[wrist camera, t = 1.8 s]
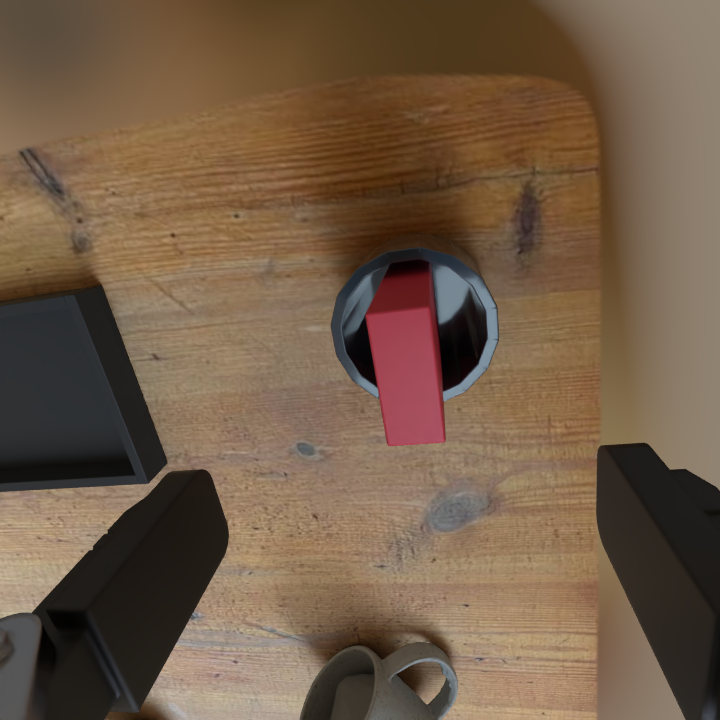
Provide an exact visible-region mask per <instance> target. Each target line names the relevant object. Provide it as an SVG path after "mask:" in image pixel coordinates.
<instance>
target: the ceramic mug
mask: <svg viewBox="0 0 720 720" xmlns="http://www.w3.org/2000/svg"><path fill="white" fill-rule="evenodd" d="M424 661H427V662H431V661H433V662H439V664H440V666H441V668H442V674H444V675H445V676H446V680H445V683H444V685H443V687H442V688H441V691H440V692H439V693H438V695H437V696H436V697H435V698H434V699H433V700H432V701H431V702H430V703H429V704H425V703H424V702H423V701H422V699H421V698H420V697H419V696H418V695H417V694H416V693H415V692H414V691H413V690H412V689H411V688H409V687H408V686H407V685H406V684H405V683H404V682H403V681H402V680H401V679H400V678H399V677H398V676H397V675H396V674H397V673H398V672H400V671H402V670H404V669H406V668H407V667H409V666H411V665H414V664H416V663H420V662H424ZM457 691H458V681H457V676H456V673H455V671H454V669H453V667H452V665H451V662H450V660H449V658H448V657H447V655H446V654H445V653H444V652H443V651H442V650H441V649H440V648H438V647H437V646H436V645H433V644H431V643H426V642H416V643H411V644H408V645H405V646H403V647H401V648H400V649H398V650H396V651H395V652H393V653H391V654H390V655H389V656H387V657H386V658H385V659H383V660H381V659H380V658H379V656H378V655H377V654H375V653H374V652H373V651H372V650H371V649H369V648H367V647H365V646H361V645H359V646H351V647H348V648H345V649H344V650H342V651H340V652H339V653H337V654H336V655H335V656H333V657H332V658H331V659H330V660H329V661H328V662H327V663H326V665H325V666H324V667H323V668H322V670H321V671H320V672H319V674H318V675H317V677H316V678H315V680H314V682H313V683H312V686H311V688H310V690H309V692H308V694H307V697H306V699H305V702H304V705H303V708H302V712H301V715H300V720H441V719H442V718H443V717H444V716H445V715H446V714H447V712H448V711H449V710H450V709H451V707H452V705H453V703H454V701H455V700H456V697H457Z"/></svg>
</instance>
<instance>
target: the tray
mask: <svg viewBox="0 0 720 720" xmlns="http://www.w3.org/2000/svg"><path fill="white" fill-rule="evenodd" d="M166 464H167V460H166V457H165V455H164V452H163V449H162V447H161V444H160V441H159V439H158V436H157V433H156V431H155V428H154V425H153V422H152V420H151V417H150V414H149V412H148V409H147V406H146V404H145V401H144V398H143V396H142V393H141V390H140V387H139V385H138V382H137V379H136V377H135V374H134V371H133V369H132V366H131V363H130V361H129V358H128V355H127V353H126V350H125V347H124V344H123V342H122V339H121V336H120V334H119V331H118V328H117V326H116V323H115V320H114V318H113V315H112V312H111V309H110V307H109V304H108V301H107V299H106V296H105V293H104V291H103V288H102V286H94V287H87V288H81V289H75V290H68V291H62V292H56V293H49V294H43V295H37V296H30V297H24V298H17V299H11V300H5V301H0V492H7V491H25V490H43V489H60V488H78V487H96V486H114V485H132V484H148V483H149V482H150V481H151V480H152V479H153V478H154V477H155V476H156V475H157V474H158V473H159V472H160V471H161V470H162V468H163V467H164V466H165V465H166Z"/></svg>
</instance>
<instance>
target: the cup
mask: <svg viewBox="0 0 720 720" xmlns="http://www.w3.org/2000/svg"><path fill="white" fill-rule="evenodd" d="M412 260H423V261H427V262H430V263H432V272H433V281H434V290H435V299H436V308H437V317H438V326H439V334H440V344H441V363H442V381H443V400H444V401H446V400H448V399H450V398H453V397H455V396H457V395H459V394H461V393H464V392H465V391H467V390H468V389H469V388H470V387H471V386H472V385H473V384H474V383H475V381H476V380H477V379H478V378H479V377H480V376H481V375H482V374H483V373H484V372H485V371H486V370H487V368H488V367H489V364H490V362H491V359H492V357H493V354H494V351H495V349H496V346H497V343H498V341H499V326H498V308H497V305H496V303H495V301H494V299H493V297H492V295H491V293H490V291H489V289H488V287H487V286H486V284H485V282H484V280H483V278H482V276H481V274H480V272H479V270H478V268H477V266H476V264H475V263H474V261H473V259H472V258H471V256H469V255H468V254H467V253H466V252H465V251H464V250H463V249H462V248H460V247H459V246H458V245H456V244H455V243H453V242H452V241H449V240H448V239H445V238H443V237H440V236H437V235H432V234H425V233H413V234H406V235H401V236H398V237H395V238H392V239H390V240H388V241H386V242H385V243H383V244H381V245H380V246H379V247H377V248H376V249H374V250H372V251H371V252H370V253H369V254H368V256H367V257H366V258H365V259H364V260H363V262H362V263H361V264H360V265H359V266H358V268H357V269H356V270H355V271H354V273H353V274H352V275H351V277H350V278H349V280H348V281H347V282H346V284H345V285H344V287H343V288H342V289H341V291H340V292H339V293H338V296H337V298H336V303H335V307H334V312H333V317H332V321H331V331H332V336H333V341H334V346H335V352H336V355H337V358H338V359H339V361H340V362H341V364H342V365H343V367H344V368H345V370H346V371H347V373H348V374H349V376H350V378H351V379H352V380H353V381H354V382H355V383H356V384H358V385H359V386H361V387H362V388H363V389H365V390H366V391H368V392H369V393H370V394H372V395H373V396H374V397H376V398H378V399H379V393H378V387H377V381H376V376H375V370H374V364H373V358H372V352H371V346H370V340H369V334H368V329H367V323H366V317H365V315H366V312H367V310H368V308H369V306H370V304H371V302H372V300H373V298H374V296H375V294H376V292H377V290H378V288H379V285H380V283H381V281H382V279H383V277H384V275H385V273H386V271H387V269H388V267H389V265H390V263H397V262H405V261H412Z"/></svg>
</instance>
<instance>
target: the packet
mask: <svg viewBox="0 0 720 720" xmlns="http://www.w3.org/2000/svg"><path fill="white" fill-rule="evenodd" d="M365 317H366V323H367V329H368V334H369V340H370V346H371V352H372V358H373V364H374V370H375V376H376V381H377V387H378V393H379V399H380V405H381V411H382V417H383V423H384V428H385V434H386V440H387V444H388V446H398V445H413V444H428V443H443V442H445V440H446V437H445V418H444V400H443V381H442V363H441V344H440V334H439V326H438V317H437V308H436V299H435V290H434V281H433V272H432V263H430V262H427V261H423V260H412V261H405V262H397V263H390V265H389V267H388V269H387V271H386V273H385V275H384V277H383V279H382V281H381V283H380V285H379V288H378V290H377V292H376V294H375V296H374V298H373V300H372V302H371V304H370V306H369V308H368V310H367V312H366V315H365Z"/></svg>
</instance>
